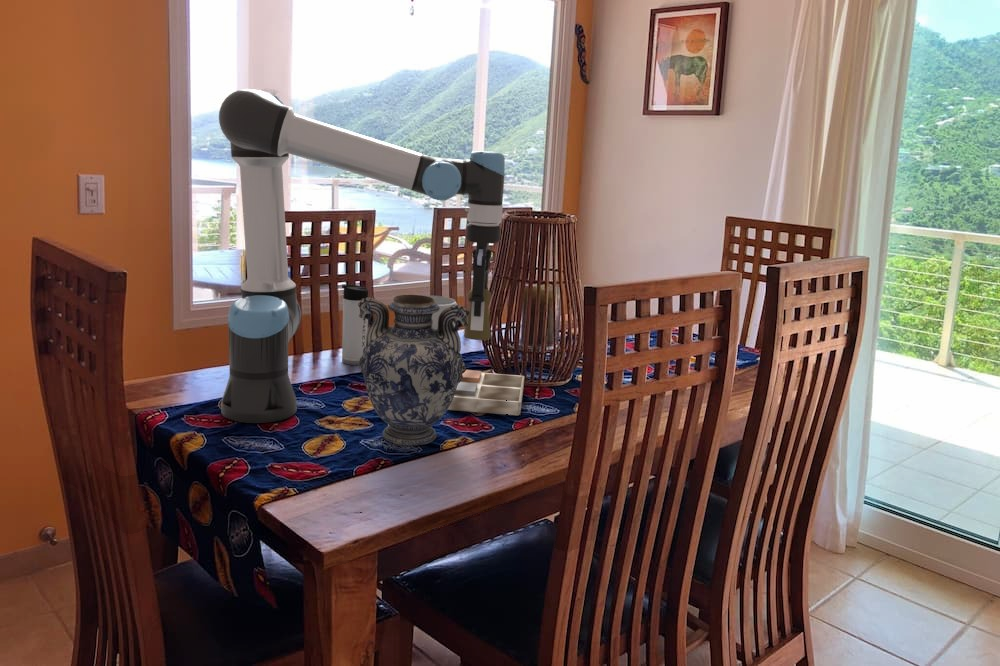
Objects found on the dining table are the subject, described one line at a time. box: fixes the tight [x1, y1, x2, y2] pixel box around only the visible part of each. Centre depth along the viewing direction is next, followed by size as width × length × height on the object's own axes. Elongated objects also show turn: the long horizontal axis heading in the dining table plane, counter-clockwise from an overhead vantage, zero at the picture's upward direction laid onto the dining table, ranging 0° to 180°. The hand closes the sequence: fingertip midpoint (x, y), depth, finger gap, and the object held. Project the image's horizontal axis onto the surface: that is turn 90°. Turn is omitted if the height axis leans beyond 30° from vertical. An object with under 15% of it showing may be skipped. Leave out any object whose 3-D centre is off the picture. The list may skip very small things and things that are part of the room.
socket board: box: [447, 369, 525, 416], centre depth 190 cm, size 16×20×4 cm
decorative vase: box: [358, 294, 469, 447], centre depth 161 cm, size 21×19×28 cm
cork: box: [463, 289, 492, 341], centre depth 186 cm, size 6×6×11 cm
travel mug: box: [341, 284, 369, 366], centre depth 210 cm, size 6×7×20 cm
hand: (477, 326), depth 186 cm, fingers closed on cork, 5 cm apart
